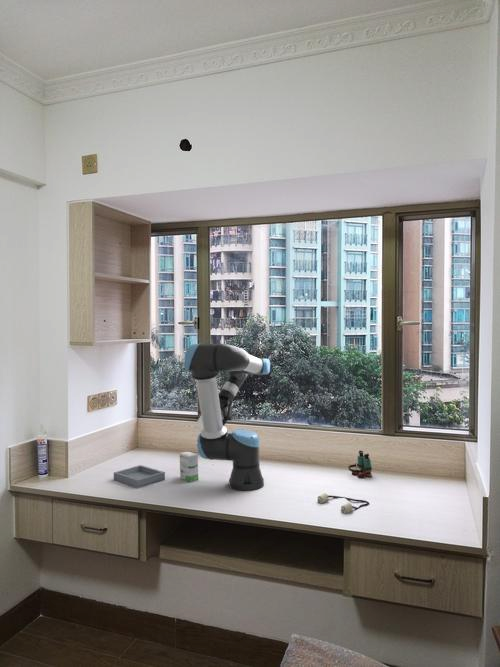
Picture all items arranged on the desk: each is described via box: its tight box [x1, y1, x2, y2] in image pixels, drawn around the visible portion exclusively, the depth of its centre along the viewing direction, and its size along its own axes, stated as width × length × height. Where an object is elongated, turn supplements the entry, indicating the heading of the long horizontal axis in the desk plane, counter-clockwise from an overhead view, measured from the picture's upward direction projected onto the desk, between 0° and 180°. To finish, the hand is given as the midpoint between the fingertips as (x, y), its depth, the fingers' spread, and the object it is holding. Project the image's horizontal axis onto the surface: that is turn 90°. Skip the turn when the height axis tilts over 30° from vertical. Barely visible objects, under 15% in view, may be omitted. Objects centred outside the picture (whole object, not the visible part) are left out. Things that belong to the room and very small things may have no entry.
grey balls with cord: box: [317, 492, 370, 514], centre depth 204 cm, size 16×16×4 cm
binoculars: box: [347, 450, 373, 479], centre depth 238 cm, size 9×11×10 cm
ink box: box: [179, 451, 200, 483], centre depth 237 cm, size 9×5×12 cm, turn 39°
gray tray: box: [113, 464, 166, 489], centre depth 238 cm, size 18×15×4 cm
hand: (206, 429), depth 246 cm, fingers open, 13 cm apart
